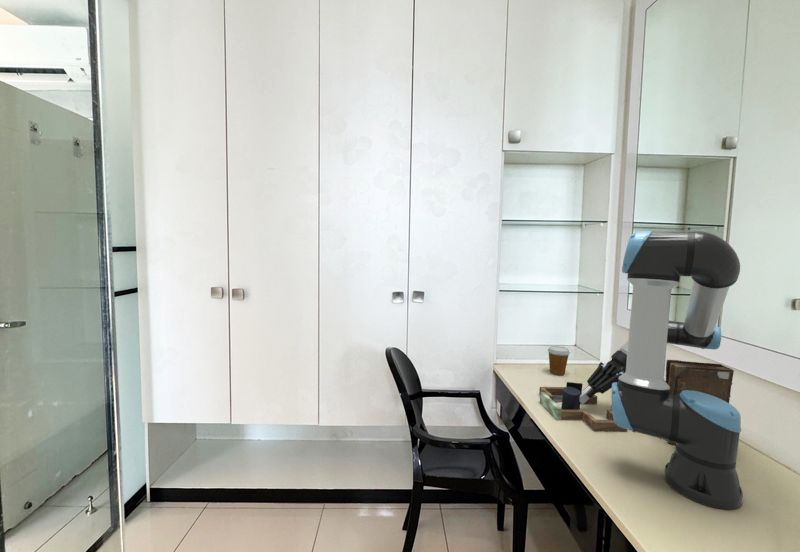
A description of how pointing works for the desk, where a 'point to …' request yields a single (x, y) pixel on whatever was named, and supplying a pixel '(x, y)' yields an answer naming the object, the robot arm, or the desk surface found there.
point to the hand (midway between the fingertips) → (579, 400)
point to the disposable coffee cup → (558, 360)
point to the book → (699, 379)
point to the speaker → (571, 396)
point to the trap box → (555, 395)
